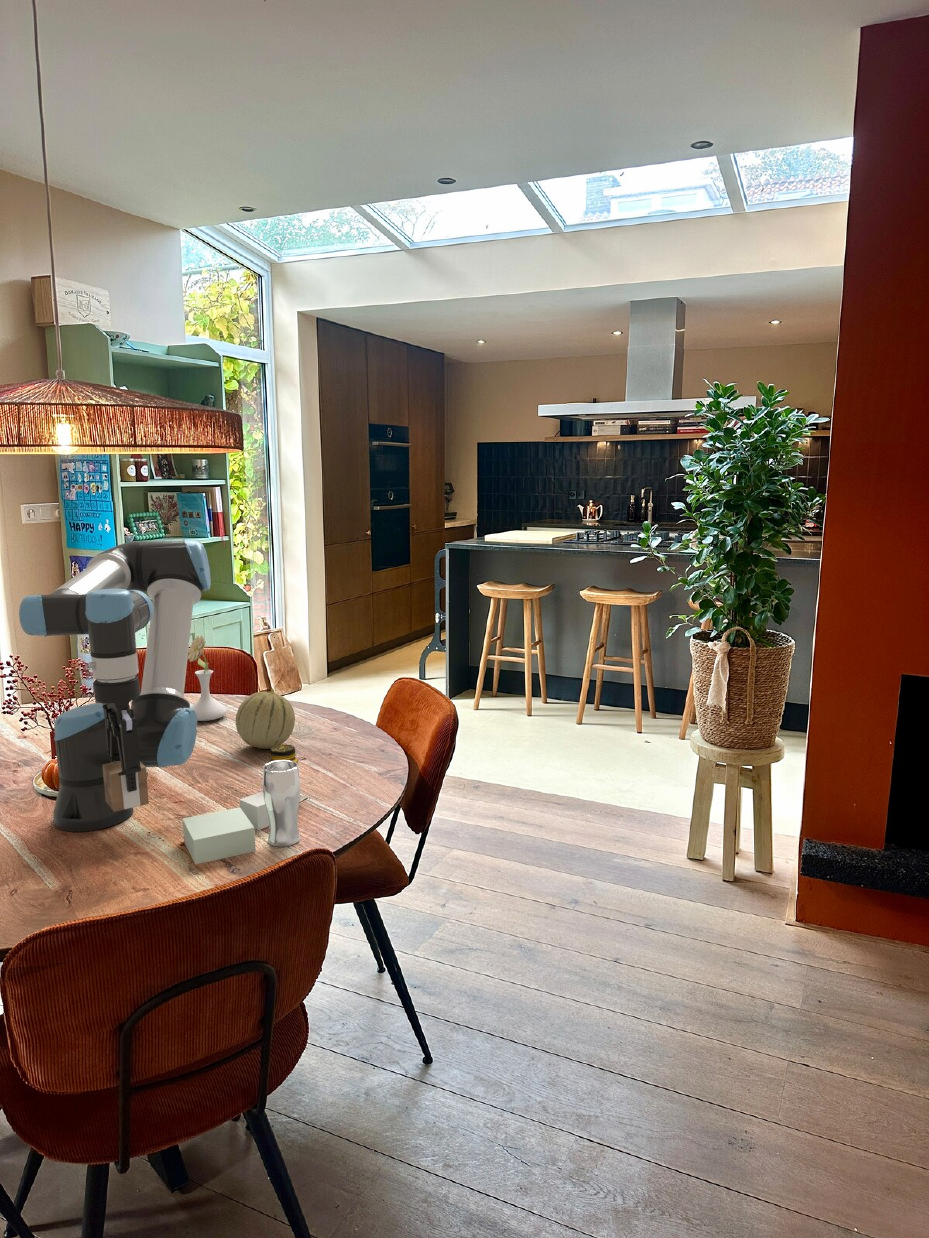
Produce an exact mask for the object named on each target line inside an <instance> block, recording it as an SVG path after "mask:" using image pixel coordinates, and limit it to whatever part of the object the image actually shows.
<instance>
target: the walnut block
mask: <svg viewBox="0 0 929 1238" xmlns="http://www.w3.org/2000/svg"><path fill="white" fill-rule="evenodd" d="M140 767H141V771H140V772H138V783H139V794H140V806H139V807H142V806H145V805H149V804H150V803H149V790H148V780H147V779H148V777H147V767H145V766H144V765H143V764H142V763H141V762H140ZM119 772H122V767H121V761H118V762H113V763H108V764H103V776H104V787H105V798H106V802H107V803H108V805H109V806H110V807H111V809H112V810H113V811H114V812H116V811H120V810H125V809H124V806H123V795H122V784H121V776H119V775H118V773H119ZM128 809H129V808H128Z"/></svg>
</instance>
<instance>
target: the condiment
mask: <svg viewBox="0 0 929 1238" xmlns="http://www.w3.org/2000/svg"><path fill="white" fill-rule="evenodd" d="M269 753H270V755H269V759H270V760H269V762H273V761H278V760H290V761H294V762H296V763H297V764H298V765H299V762H298V759H297V757H296V755H297V753H296V747H295V746H294V745H292V744H281V745H278V746H274V747H273V748H271V749H269ZM269 762H268V763H269ZM307 798H309V796H307V795H302V794H300V800H299V803H301V802H302V801H304V800H305V799H307Z"/></svg>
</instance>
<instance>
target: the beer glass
mask: <svg viewBox="0 0 929 1238" xmlns="http://www.w3.org/2000/svg"><path fill="white" fill-rule="evenodd" d="M262 791H263V796H264V801H265V806H266V810H267V814H268V818H269V824H270V826H269V832H268V839H267V842H268V844H269V845H271V846H273V847H278V848H281V847H282V848H283V847H290V846H294V845H295V844H297V843H298V842H300V840H301V834H300V830H299V824H298V817H299V815H298V814H299V813H298V812H299V806H300V802H299V800H300V795H301V781H300V772H299V763H298V764H297V763H296V762H294V761H290V760H278V761H273V762H268V763H264V765H263V766H262Z"/></svg>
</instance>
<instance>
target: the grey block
mask: <svg viewBox="0 0 929 1238" xmlns="http://www.w3.org/2000/svg"><path fill="white" fill-rule="evenodd" d="M239 807H240V808H241V809H242V811H243V812H244V814H245V815H246V816H247V818H248V819H249V821H250V822H251V824H252V825H253V826H254V830H257V831H260V830H262V829H265V828H269V827H270V824H269V818H268V814H267V810H266V806H265V801H264V796H263V790H262V791H260V792H257V793H253V794H251V795H248V796H246V797H242V798H240V799H239Z"/></svg>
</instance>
